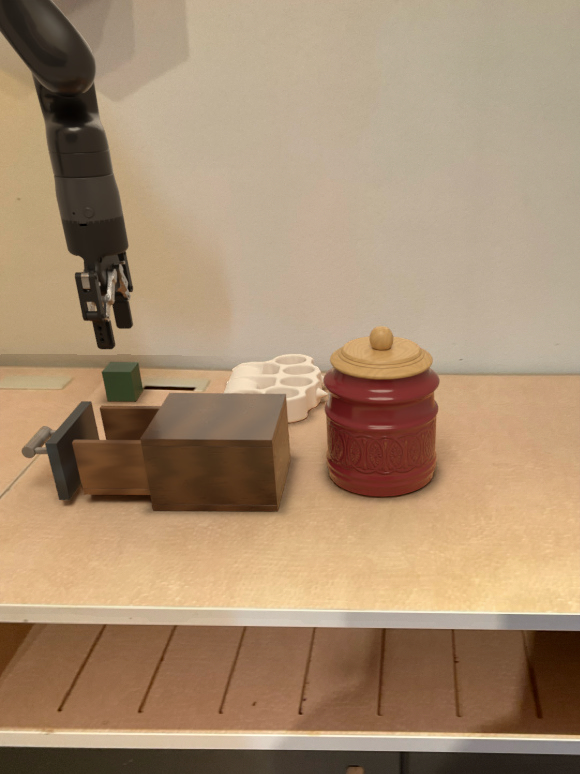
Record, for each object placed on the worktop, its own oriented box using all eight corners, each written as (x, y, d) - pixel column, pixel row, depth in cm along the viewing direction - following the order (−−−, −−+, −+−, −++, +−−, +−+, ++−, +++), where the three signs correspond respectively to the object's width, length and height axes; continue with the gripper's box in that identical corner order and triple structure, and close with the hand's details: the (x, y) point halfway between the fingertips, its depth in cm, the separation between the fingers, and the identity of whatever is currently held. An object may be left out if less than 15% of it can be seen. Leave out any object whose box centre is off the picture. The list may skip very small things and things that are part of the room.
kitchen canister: (382, 511, 87) (383, 355, 77) (304, 473, 94) (295, 326, 85) (458, 472, 95) (466, 326, 85) (380, 439, 102) (380, 302, 93)
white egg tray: (237, 374, 121) (333, 374, 121) (217, 423, 106) (327, 423, 106) (235, 353, 119) (332, 353, 120) (214, 399, 104) (326, 399, 104)
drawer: (20, 500, 86) (4, 443, 82) (57, 453, 96) (44, 400, 92) (174, 501, 86) (165, 444, 83) (196, 454, 96) (189, 402, 92)
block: (107, 401, 112) (101, 371, 109) (115, 390, 115) (110, 361, 113) (135, 401, 112) (130, 371, 109) (143, 391, 115) (138, 361, 113)
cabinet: (153, 510, 86) (139, 438, 82) (179, 458, 97) (169, 392, 92) (277, 511, 86) (271, 439, 82) (290, 459, 97) (286, 393, 92)
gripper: (80, 202, 106) (104, 322, 115) (40, 224, 94) (71, 356, 103) (136, 202, 106) (156, 322, 115) (104, 224, 94) (129, 356, 103)
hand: (116, 337), depth 109 cm, fingers open, 8 cm apart
